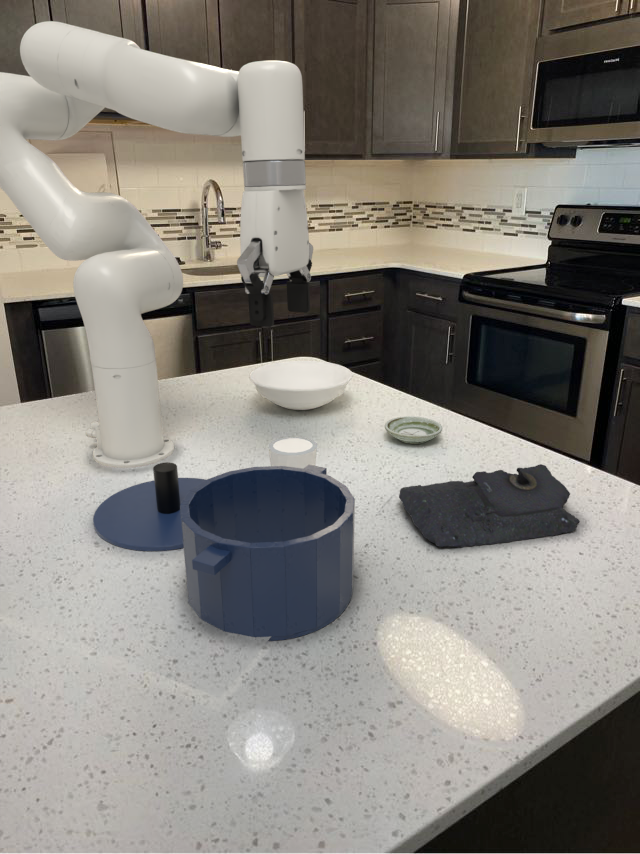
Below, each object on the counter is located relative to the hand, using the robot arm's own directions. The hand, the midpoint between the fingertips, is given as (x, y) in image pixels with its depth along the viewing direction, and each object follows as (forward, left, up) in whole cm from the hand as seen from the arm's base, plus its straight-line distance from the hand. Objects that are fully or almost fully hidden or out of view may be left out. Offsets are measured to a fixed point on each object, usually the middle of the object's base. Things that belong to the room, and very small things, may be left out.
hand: (281, 318), depth 86 cm
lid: (-10, -14, -24) cm, 29 cm away
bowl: (-15, +33, -25) cm, 44 cm away
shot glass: (+1, 0, -25) cm, 25 cm away
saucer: (+10, +26, -25) cm, 37 cm away
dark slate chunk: (+27, +5, -25) cm, 37 cm away
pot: (+10, -22, -25) cm, 35 cm away
